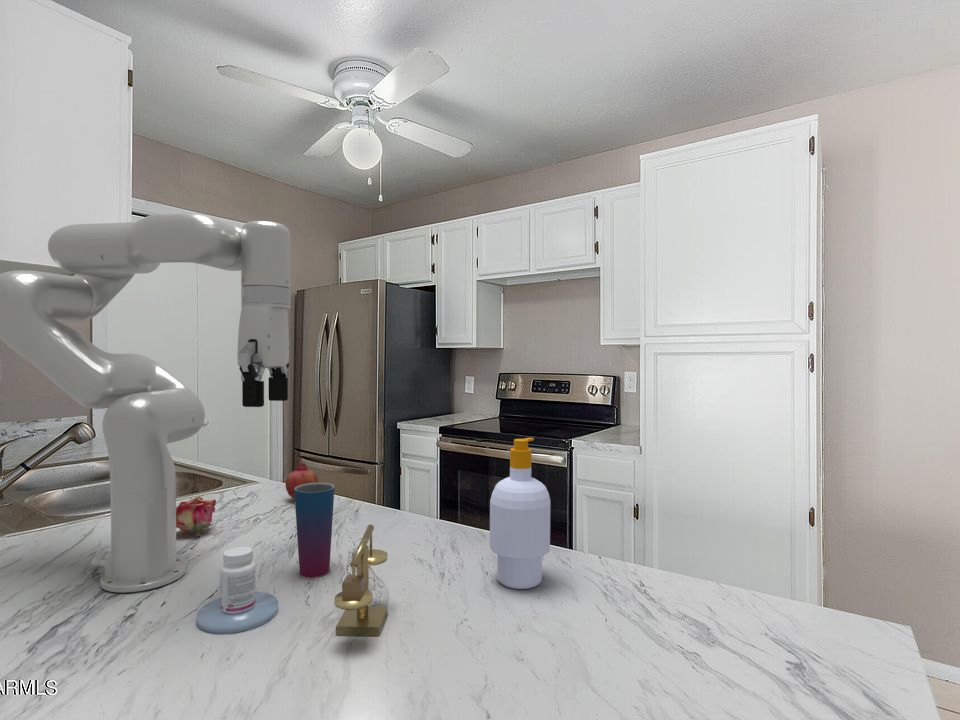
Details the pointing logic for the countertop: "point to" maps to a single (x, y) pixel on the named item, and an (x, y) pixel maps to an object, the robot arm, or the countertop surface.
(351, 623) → the balance
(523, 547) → the soap bottle
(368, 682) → the countertop surface
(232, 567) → the pill bottle
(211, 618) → the saucer
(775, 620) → the countertop surface
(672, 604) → the countertop surface
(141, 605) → the countertop surface
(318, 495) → the cup
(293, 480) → the fruit
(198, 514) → the flower
